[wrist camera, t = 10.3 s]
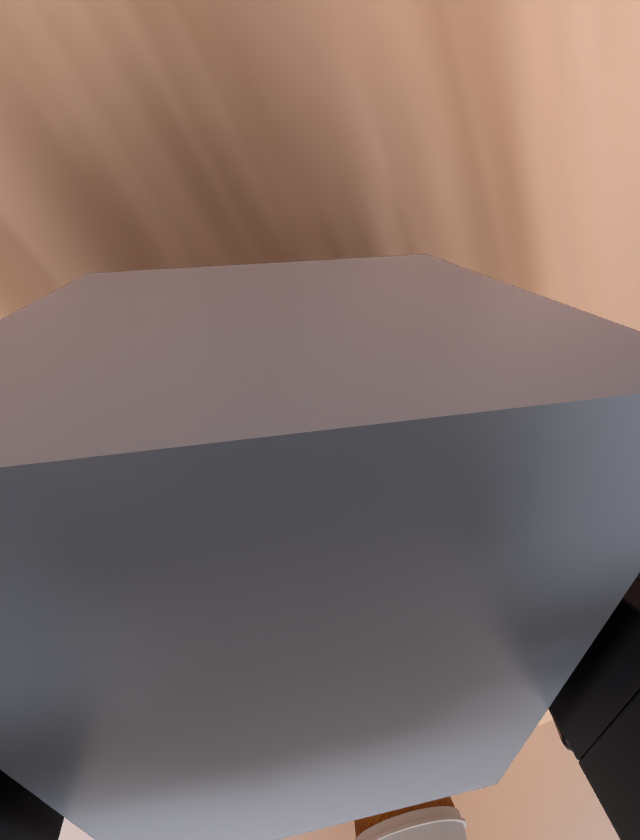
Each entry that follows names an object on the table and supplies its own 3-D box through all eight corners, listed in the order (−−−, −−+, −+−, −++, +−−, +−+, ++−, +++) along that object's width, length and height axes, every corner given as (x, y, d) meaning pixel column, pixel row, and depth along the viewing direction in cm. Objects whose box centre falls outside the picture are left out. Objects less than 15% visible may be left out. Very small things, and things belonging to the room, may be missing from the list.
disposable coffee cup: (313, 693, 37) (339, 880, 27) (401, 657, 37) (461, 835, 26) (347, 724, 42) (379, 891, 32) (425, 692, 42) (483, 853, 31)
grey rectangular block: (426, 253, 9) (769, 378, 3) (393, 538, 14) (497, 784, 8) (87, 273, 8) (-351, 508, 2) (187, 570, 13) (141, 874, 7)
